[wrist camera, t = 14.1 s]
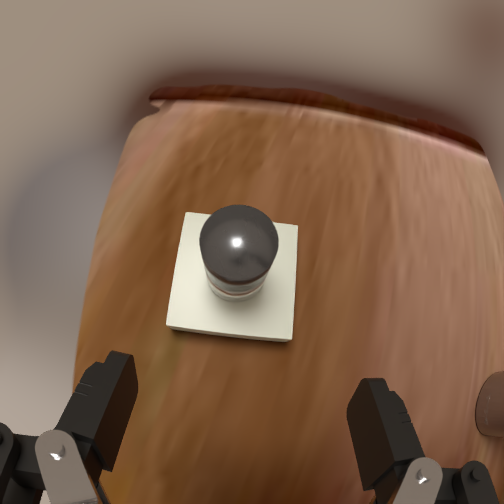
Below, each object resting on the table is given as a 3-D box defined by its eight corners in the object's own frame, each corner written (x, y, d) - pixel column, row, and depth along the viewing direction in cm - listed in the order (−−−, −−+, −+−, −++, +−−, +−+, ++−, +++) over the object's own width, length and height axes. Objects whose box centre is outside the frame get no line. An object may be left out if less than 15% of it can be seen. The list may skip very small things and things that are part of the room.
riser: (291, 237, 33) (297, 225, 30) (285, 342, 29) (291, 339, 26) (188, 225, 32) (186, 212, 29) (171, 328, 28) (165, 325, 25)
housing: (267, 250, 28) (281, 210, 21) (261, 305, 27) (275, 283, 19) (211, 243, 28) (206, 200, 21) (202, 297, 26) (192, 272, 19)
